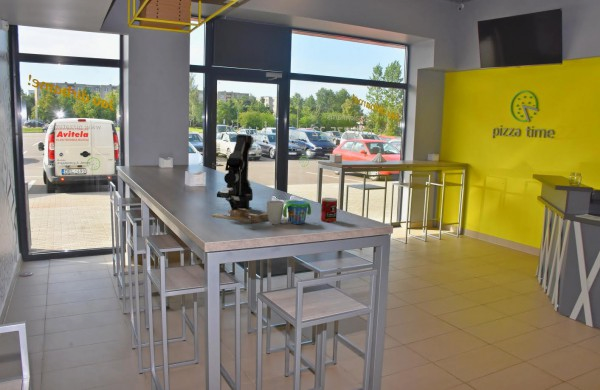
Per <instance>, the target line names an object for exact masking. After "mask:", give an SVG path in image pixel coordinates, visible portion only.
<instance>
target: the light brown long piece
mask: <svg viewBox="0 0 600 390" xmlns="http://www.w3.org/2000/svg"><path fill="white" fill-rule="evenodd" d="M227 212H228V213H229V214H230V210H228V211H227ZM211 216H212V217H216V218H221V219H226V220H232V221H238V222H242V223H249V224H256V223H260V222H264V221H267V220H268V221H269V219H268V214H267V212H265V213H260V214H256V213H255V214H254V213H250V212H249V218H250V219H249V218H246V219H243V218H238V217H232V216H230V215H227V214H226V215H225V214H220V213H212V214H211Z"/></svg>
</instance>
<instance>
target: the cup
mask: <svg viewBox="0 0 600 390" xmlns="http://www.w3.org/2000/svg"><path fill="white" fill-rule="evenodd" d="M284 207H285V201H282V200H268V201H266V213H267V214H268V221H269V224H272V225H279V224H281V221H282V219H283V210H284Z"/></svg>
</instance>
